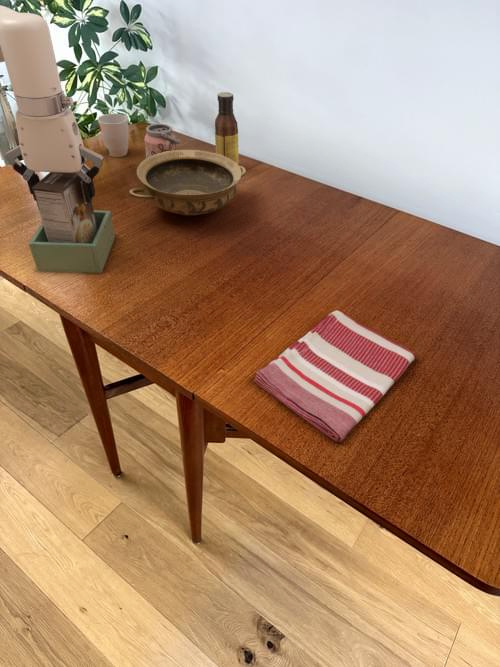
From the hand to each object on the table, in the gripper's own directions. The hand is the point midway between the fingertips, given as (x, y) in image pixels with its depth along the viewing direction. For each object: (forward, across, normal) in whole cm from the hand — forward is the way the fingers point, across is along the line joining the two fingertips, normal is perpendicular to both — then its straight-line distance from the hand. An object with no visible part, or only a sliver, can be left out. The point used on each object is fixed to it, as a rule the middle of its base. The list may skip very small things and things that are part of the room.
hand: (64, 198), depth 89 cm
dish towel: (+13, -50, +32) cm, 61 cm away
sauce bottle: (+13, -30, -44) cm, 55 cm away
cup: (+13, +2, -52) cm, 54 cm away
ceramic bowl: (+13, -22, -21) cm, 33 cm away
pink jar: (+13, -13, -41) cm, 45 cm away
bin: (+13, 0, 0) cm, 13 cm away
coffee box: (+12, 0, 0) cm, 12 cm away
